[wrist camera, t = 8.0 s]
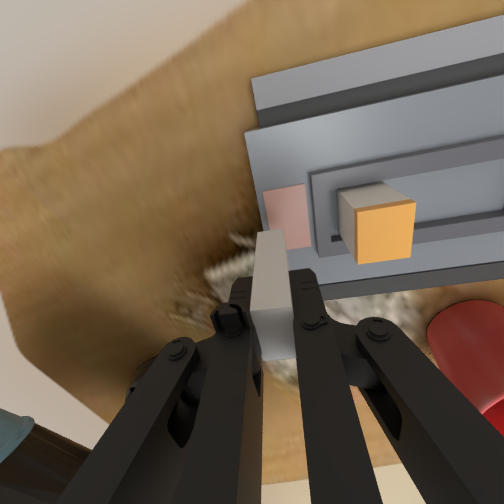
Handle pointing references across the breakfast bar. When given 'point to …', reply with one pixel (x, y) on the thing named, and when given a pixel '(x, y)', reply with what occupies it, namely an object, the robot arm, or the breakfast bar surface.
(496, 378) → the flower pot
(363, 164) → the breaker panel
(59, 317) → the breakfast bar surface
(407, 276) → the long gray bar
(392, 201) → the lever
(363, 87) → the grey long bar
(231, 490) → the robot arm
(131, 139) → the breakfast bar surface
